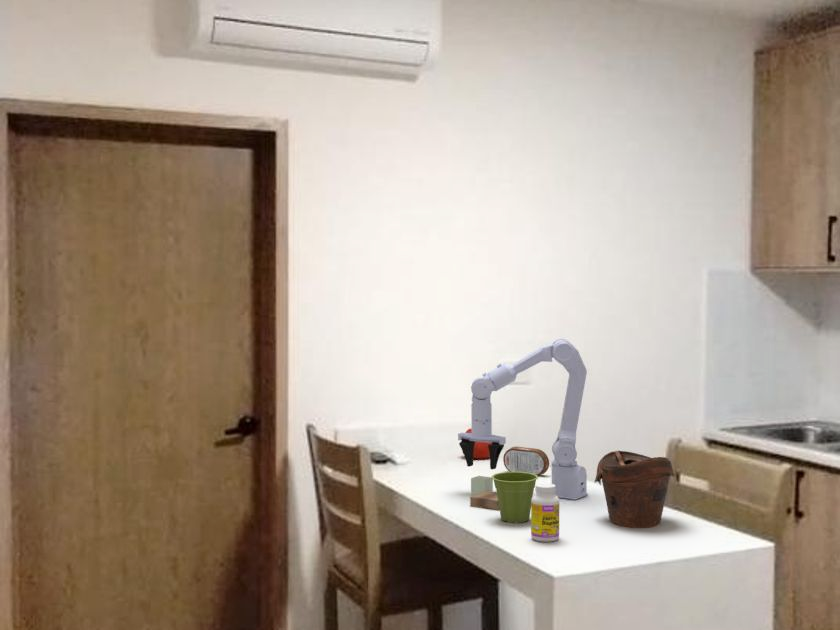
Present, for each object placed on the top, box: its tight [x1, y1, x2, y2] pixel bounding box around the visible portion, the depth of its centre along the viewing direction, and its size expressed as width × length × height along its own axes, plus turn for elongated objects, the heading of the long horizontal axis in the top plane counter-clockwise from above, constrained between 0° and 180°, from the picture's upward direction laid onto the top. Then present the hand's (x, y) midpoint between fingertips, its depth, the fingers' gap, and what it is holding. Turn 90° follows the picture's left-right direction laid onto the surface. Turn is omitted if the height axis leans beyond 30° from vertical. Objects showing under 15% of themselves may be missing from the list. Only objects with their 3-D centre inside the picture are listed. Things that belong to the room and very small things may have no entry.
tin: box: [503, 446, 550, 477], centre depth 313 cm, size 15×3×8 cm, turn 58°
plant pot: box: [491, 471, 539, 524], centre depth 255 cm, size 12×12×11 cm
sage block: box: [470, 475, 494, 497], centre depth 284 cm, size 4×4×5 cm
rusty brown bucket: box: [594, 450, 675, 529], centre depth 253 cm, size 18×20×18 cm
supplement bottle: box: [530, 482, 560, 543], centre depth 237 cm, size 7×7×13 cm
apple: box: [461, 428, 492, 460], centre depth 341 cm, size 11×11×11 cm
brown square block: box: [469, 490, 500, 512], centre depth 272 cm, size 9×9×3 cm
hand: (481, 467), depth 284 cm, fingers open, 7 cm apart
